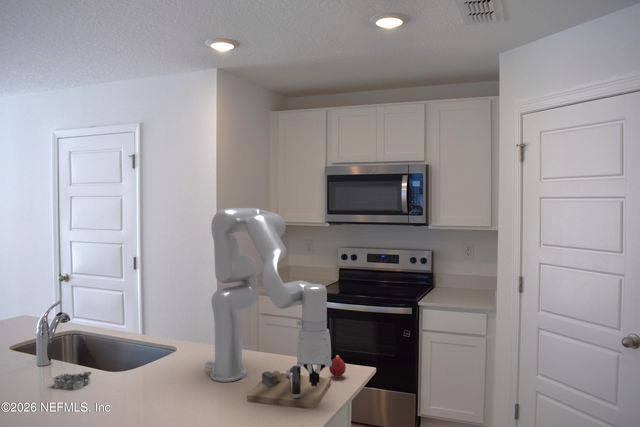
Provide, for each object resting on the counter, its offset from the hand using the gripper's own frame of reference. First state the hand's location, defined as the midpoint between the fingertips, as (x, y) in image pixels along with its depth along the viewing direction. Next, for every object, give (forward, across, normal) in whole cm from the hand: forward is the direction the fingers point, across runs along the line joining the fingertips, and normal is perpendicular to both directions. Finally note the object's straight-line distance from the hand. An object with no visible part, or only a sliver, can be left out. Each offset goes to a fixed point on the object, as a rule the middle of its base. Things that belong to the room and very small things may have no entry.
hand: (314, 384), depth 142 cm
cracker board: (+6, -8, +8) cm, 13 cm away
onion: (+6, +6, +22) cm, 24 cm away
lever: (+4, -7, +9) cm, 12 cm away
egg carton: (+6, -83, +8) cm, 84 cm away
